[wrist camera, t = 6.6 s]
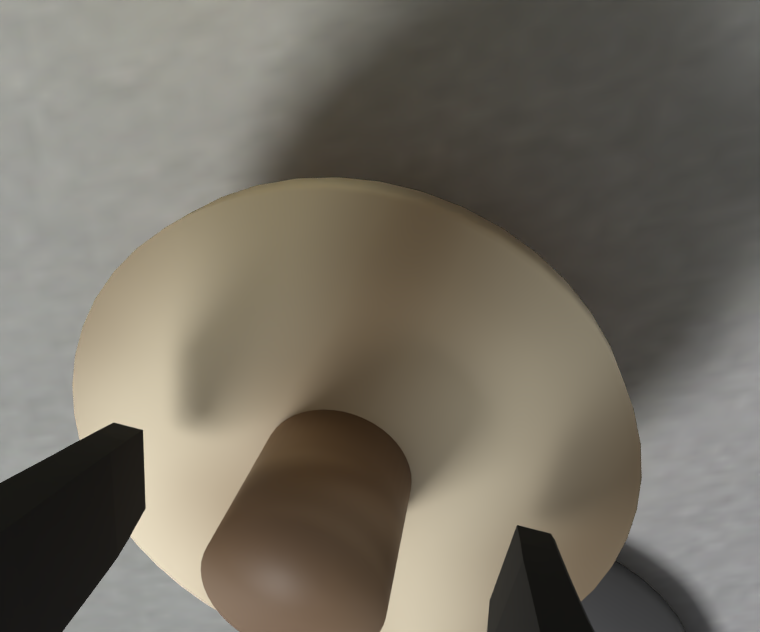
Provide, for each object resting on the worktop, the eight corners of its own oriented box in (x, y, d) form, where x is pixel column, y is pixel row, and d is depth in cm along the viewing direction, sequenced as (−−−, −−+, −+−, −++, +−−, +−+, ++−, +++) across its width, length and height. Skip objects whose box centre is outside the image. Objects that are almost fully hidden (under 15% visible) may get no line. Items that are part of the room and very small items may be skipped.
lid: (725, 240, 10) (850, 355, 6) (547, 674, 15) (561, 866, 12) (73, 128, 11) (-123, 172, 8) (120, 565, 17) (17, 709, 13)
